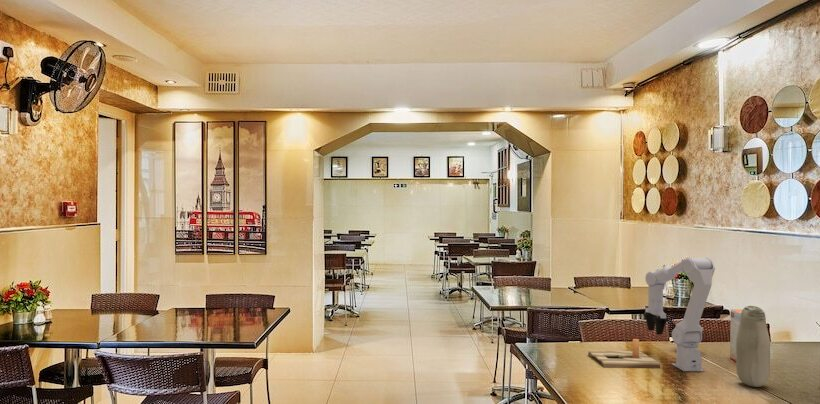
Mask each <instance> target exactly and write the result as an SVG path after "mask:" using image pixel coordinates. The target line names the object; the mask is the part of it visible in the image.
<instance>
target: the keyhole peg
mask: <svg viewBox="0 0 820 404" xmlns="http://www.w3.org/2000/svg"><path fill="white" fill-rule="evenodd" d="M632 351H633V358H639V351H640V339H639V338H633V339H632Z"/></svg>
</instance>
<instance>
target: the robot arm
mask: <svg viewBox="0 0 820 404" xmlns="http://www.w3.org/2000/svg"><path fill="white" fill-rule="evenodd" d="M715 270H716V267H715V265H714V262H713V261H712V259H711V258H709V257H693V258H692V257H686V258H684V259H683V258H682V259H681V261H679V262H678V263H677V262H676V263H675V264H674V265H672V266H670V265H666V264H665V265H662V268H660V269H656V270H655V271H648V272H647V273H646V274H645V282H646V284H647V286H648V292H647V293H648V294H647V295H648V297H647V300H648V301H647V302H648V303H647V304H648V305H647V306H648V307H645V312H644V313H643V314H642V315H643V317H644V318H645V322H646V325H647V326H646V327H647V330H648V331H650V332H651V331H653V332H654V331H655V333H656V335H663V333H664V329H665V328H666V327H665V326H666V324H667V323H668V321H669V318H668V317H667V313H666V312H664V290H665V285H666V283H668V282H669V281H672V280H674V279H675V278H676V276H677V275H678V274H681V273H685V275H686V276H687V278H688V279H689V281H690V282H692V283H693V289H692V291H691V294H690V298H689V300H688V304H687V307H686V309H685V313H684V316H683V319H682V320H680V321H679V322H677V323H676V324H675V327H674V329H672V330H671V338H672V341H673V342H674V345H676V358H675V359H676V363H673V362H672V363H671V365H672V366H674V367H675V368H677V369H679V370H681V371H683V372H704V369H702V360H703V359H702V352H700V350H699V349H698V347H697V346H699V345H700V343H701V342H702V341H703V330H704V328H703V327H702V325H700V320H701V317H702V315H703V313H704V309H705V306H706V303H707V300H708V296H709V294H710V291H711V288H712V286H713V285H712V284H713V276H714V273H715ZM702 328H703V329H702Z"/></svg>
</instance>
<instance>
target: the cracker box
mask: <svg viewBox="0 0 820 404" xmlns="http://www.w3.org/2000/svg"><path fill="white" fill-rule="evenodd" d="M742 310H743V309H737V308H736V309H734V308H732V309H730V331H729V332H730V334H729V335H730V339H729V351H730V352H729V358H730V359H731V360H733V361H734V362H735V363H736V338H737V333H738V329H739V325H740V318H741V312H742Z"/></svg>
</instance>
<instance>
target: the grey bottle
mask: <svg viewBox="0 0 820 404" xmlns="http://www.w3.org/2000/svg"><path fill="white" fill-rule="evenodd" d="M741 310H742V312H741V318H740V325H739V329H738V333H737V338H736V362H735V365H736V369H735V370H736V373H737V374H736V375H737V377H738V379H739V380H740V382H742V383H743V384H745V385H746V386H748V387H753V388H761V387H763V386H766V384H767V383H768V381H769V379H770V375H771V374H770V373H771V372H770V371H771V370H770V369H771V339H770V335H769V331H768V327H767V321H766V319H767V318H766V313H765V312H764V309H762V308H761V307H759V306H756V305H748V306H744V307H743V308H742V309H741Z"/></svg>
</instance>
